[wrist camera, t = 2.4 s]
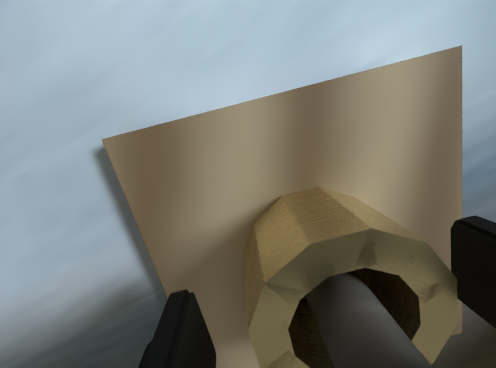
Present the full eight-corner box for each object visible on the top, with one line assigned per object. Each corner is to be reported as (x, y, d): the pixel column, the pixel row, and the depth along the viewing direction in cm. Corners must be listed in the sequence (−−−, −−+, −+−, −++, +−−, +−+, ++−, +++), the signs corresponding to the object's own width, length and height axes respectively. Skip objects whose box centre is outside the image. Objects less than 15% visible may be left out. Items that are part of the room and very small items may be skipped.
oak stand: (439, 53, 10) (926, -114, 3) (445, 317, 13) (665, 522, 6) (114, 137, 10) (-157, 171, 3) (209, 375, 13) (182, 631, 7)
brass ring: (368, 173, 10) (457, 206, 6) (381, 289, 11) (458, 377, 7) (230, 208, 10) (226, 264, 6) (262, 319, 11) (276, 420, 8)
